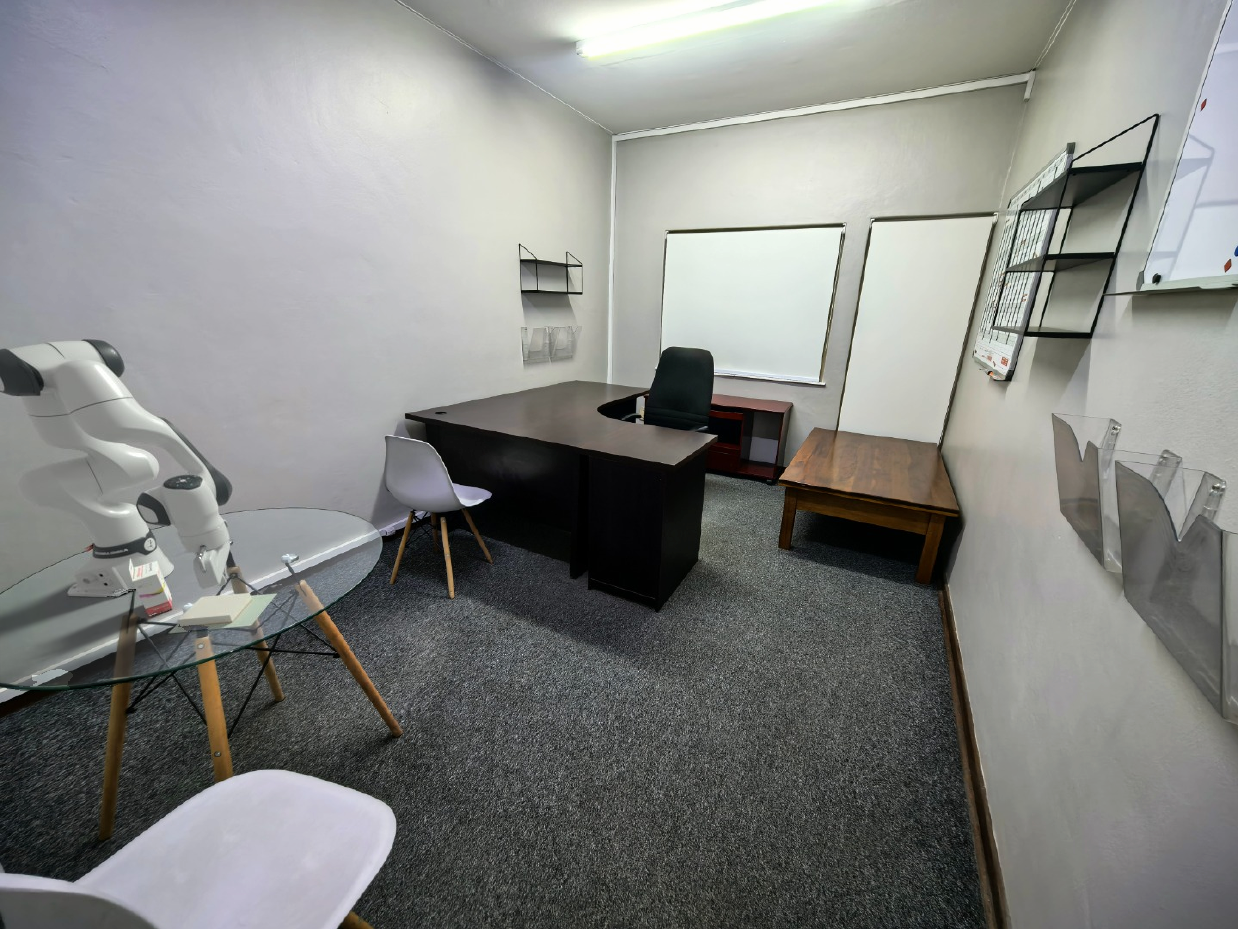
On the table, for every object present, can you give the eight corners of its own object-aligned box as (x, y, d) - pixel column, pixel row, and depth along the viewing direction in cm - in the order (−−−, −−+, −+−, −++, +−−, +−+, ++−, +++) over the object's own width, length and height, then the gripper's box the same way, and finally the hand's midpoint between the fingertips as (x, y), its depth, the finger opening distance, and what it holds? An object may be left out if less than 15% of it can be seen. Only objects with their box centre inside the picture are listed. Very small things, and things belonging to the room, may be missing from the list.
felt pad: (168, 634, 115) (168, 633, 115) (203, 601, 127) (202, 599, 127) (251, 626, 118) (250, 625, 118) (277, 594, 130) (277, 593, 130)
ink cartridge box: (174, 609, 124) (153, 564, 118) (148, 618, 121) (126, 572, 115) (172, 594, 129) (152, 551, 124) (148, 602, 126) (127, 558, 121)
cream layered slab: (232, 622, 119) (180, 627, 117) (252, 599, 127) (204, 604, 125) (229, 615, 118) (177, 619, 116) (249, 593, 126) (201, 597, 124)
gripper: (214, 554, 107) (233, 600, 113) (226, 517, 123) (242, 559, 129) (179, 562, 104) (200, 609, 110) (196, 523, 120) (213, 566, 125)
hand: (223, 582), depth 119 cm, fingers closed
